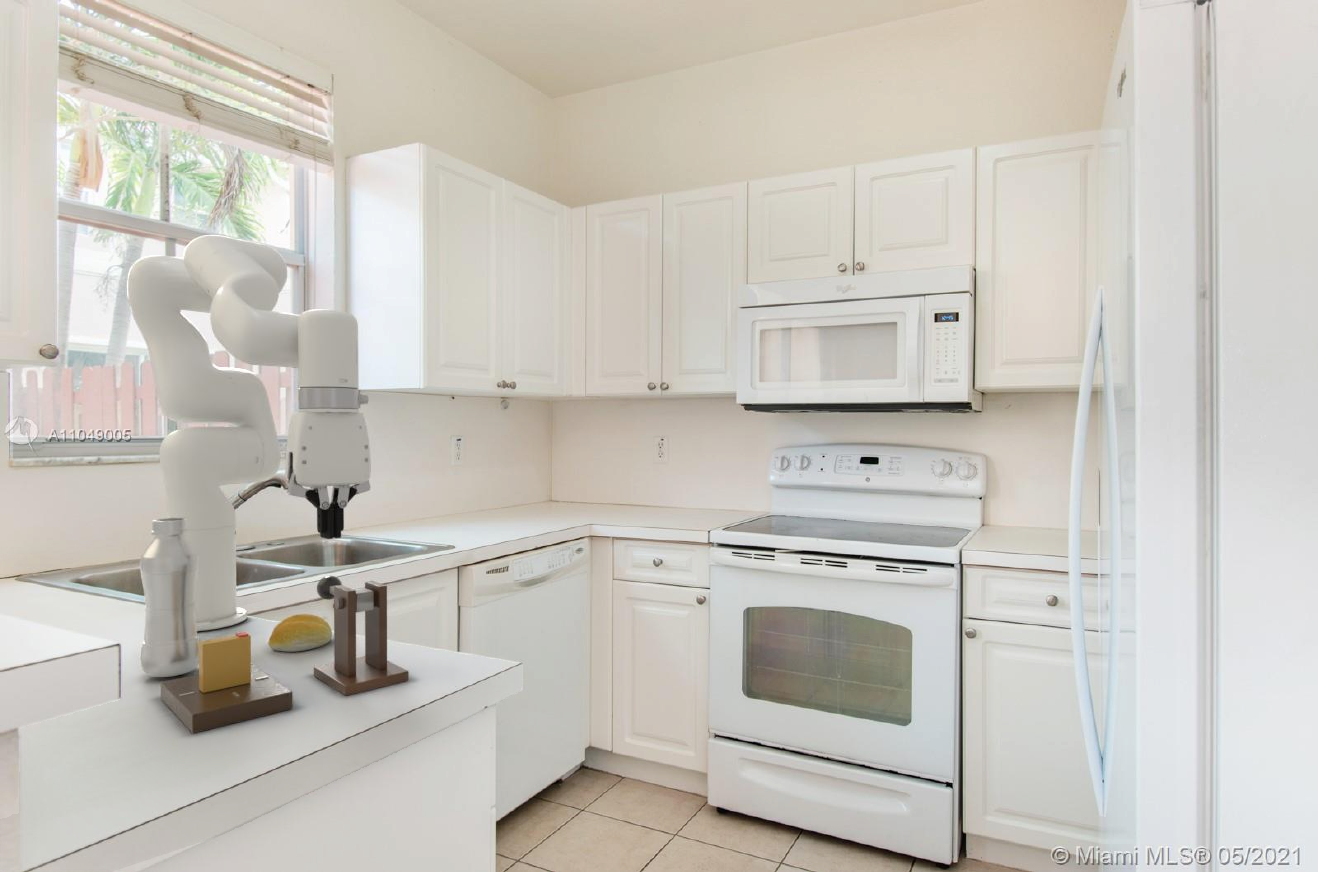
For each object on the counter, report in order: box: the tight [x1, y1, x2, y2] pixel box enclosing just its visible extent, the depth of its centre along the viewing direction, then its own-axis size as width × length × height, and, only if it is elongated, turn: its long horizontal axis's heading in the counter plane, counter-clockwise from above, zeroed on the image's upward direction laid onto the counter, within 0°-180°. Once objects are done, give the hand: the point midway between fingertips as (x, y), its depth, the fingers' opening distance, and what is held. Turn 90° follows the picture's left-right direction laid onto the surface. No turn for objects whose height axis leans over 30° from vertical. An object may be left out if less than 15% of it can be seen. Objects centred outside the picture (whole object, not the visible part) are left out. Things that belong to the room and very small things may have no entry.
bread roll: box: [268, 613, 333, 653], centre depth 113 cm, size 8×9×4 cm
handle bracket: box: [313, 580, 410, 696], centre depth 98 cm, size 10×8×12 cm
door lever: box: [316, 575, 374, 613], centre depth 102 cm, size 13×3×3 cm, turn 44°
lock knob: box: [198, 631, 252, 693], centre depth 89 cm, size 5×2×6 cm, turn 134°
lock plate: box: [160, 663, 293, 734], centre depth 89 cm, size 14×10×2 cm
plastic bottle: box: [139, 517, 200, 678], centre depth 99 cm, size 6×7×20 cm
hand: (330, 537), depth 105 cm, fingers closed
